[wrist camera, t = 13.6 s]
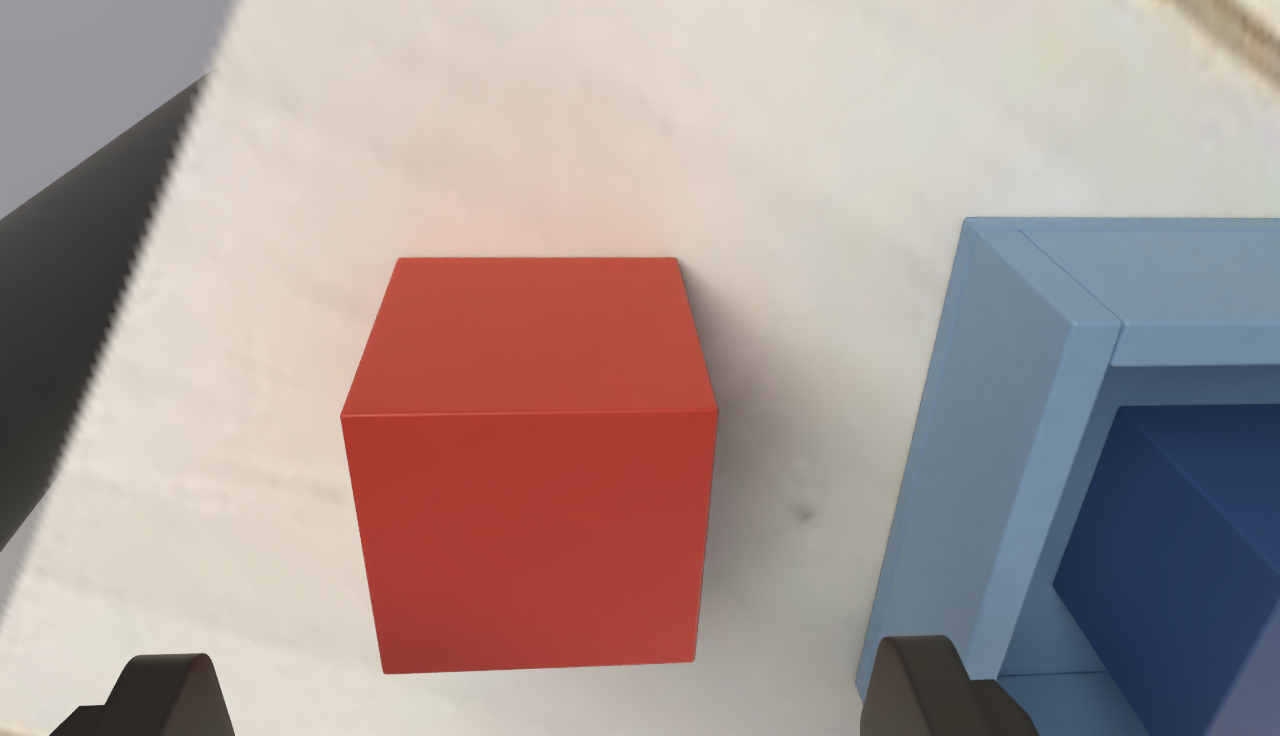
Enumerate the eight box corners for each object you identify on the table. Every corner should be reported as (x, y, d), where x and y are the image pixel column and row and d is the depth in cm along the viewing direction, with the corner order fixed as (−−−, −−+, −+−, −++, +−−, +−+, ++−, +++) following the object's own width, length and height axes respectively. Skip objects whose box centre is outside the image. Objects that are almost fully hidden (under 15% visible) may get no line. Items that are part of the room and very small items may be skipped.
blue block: (1050, 585, 21) (1178, 783, 16) (1118, 404, 18) (1290, 583, 14) (1253, 578, 21) (1429, 769, 17) (1347, 401, 19) (1583, 573, 14)
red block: (422, 479, 18) (382, 676, 14) (397, 256, 16) (338, 415, 12) (664, 474, 19) (695, 663, 15) (677, 255, 16) (720, 408, 12)
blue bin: (854, 681, 23) (907, 837, 19) (963, 215, 16) (1073, 322, 13) (1314, 663, 24) (1444, 806, 20) (1589, 218, 17) (1849, 317, 14)
